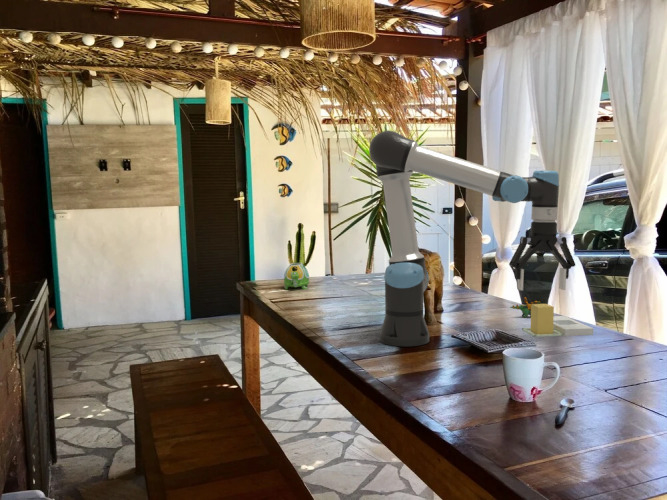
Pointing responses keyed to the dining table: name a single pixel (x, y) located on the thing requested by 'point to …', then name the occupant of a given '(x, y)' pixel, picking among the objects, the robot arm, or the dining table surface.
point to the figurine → (525, 308)
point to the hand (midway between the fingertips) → (541, 289)
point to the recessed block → (570, 326)
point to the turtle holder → (296, 276)
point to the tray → (542, 334)
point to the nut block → (542, 318)
